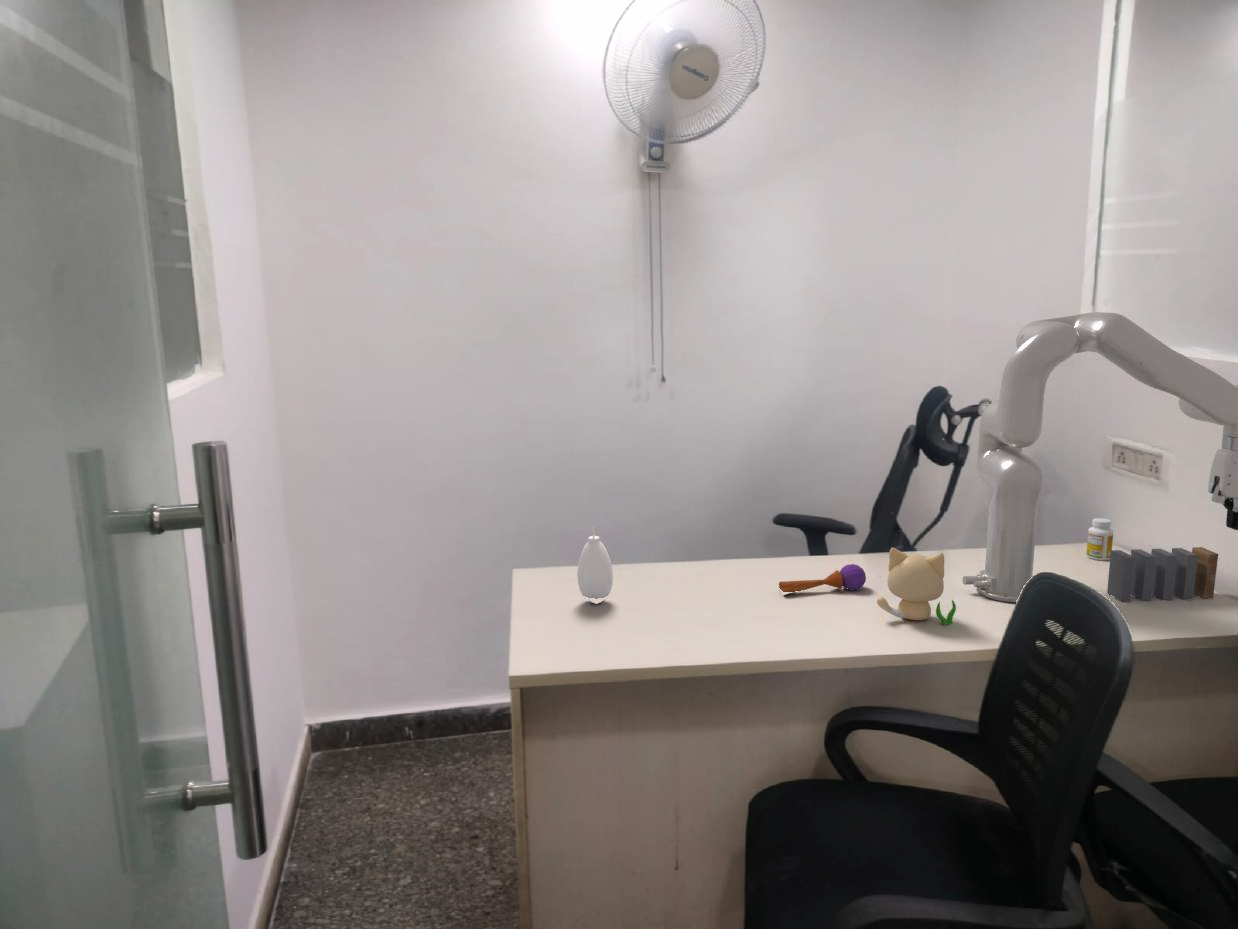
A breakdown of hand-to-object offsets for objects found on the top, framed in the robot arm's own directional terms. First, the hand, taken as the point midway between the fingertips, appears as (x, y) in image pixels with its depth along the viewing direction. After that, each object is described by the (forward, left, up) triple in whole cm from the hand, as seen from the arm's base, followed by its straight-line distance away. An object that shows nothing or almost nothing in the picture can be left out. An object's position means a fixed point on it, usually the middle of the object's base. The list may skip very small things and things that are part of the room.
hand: (1235, 528), depth 175 cm
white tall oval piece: (-138, +9, -15) cm, 139 cm away
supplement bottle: (-12, +27, -15) cm, 33 cm away
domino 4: (-10, 0, -15) cm, 18 cm away
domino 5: (-6, 0, -15) cm, 16 cm away
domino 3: (-15, 0, -15) cm, 21 cm away
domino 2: (-19, 0, -15) cm, 24 cm away
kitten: (-71, -7, -15) cm, 73 cm away
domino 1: (-24, 0, -15) cm, 28 cm away
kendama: (-86, +11, -15) cm, 88 cm away
